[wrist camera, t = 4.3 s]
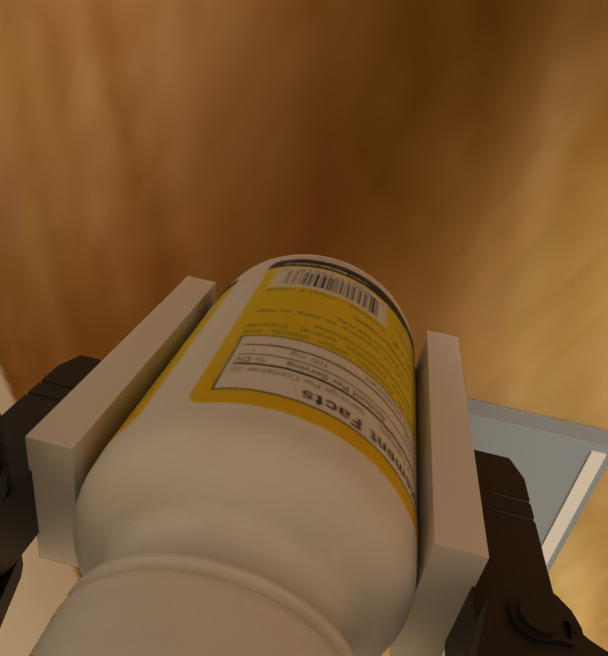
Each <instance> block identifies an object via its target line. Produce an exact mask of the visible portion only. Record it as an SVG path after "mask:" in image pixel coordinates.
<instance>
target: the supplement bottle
mask: <svg viewBox="0 0 608 656" xmlns="http://www.w3.org/2000/svg"><path fill="white" fill-rule="evenodd" d="M73 542H74V550H75V554H76V559H77V563H78V565H79V568H80V571H81V574H82V578H81V579H80V580H79V581H78V582H77V583H76V584H75V585H74V587H73V588H72V589H71V591H70V592H69V594H68V596H67V598H66V599H65V601H64V602H63V603H62V604H61V605H60V607H59V608H58V609H57V611H56V612H55V614H54V615H53V617H52V618H51V620H50V622H49V624H48V626H47V627H46V629H45V631H44V632H43V634H42V636H41V637H40V639H39V640H38V642H37V644H36V645H35V647H34V649H33V650H32V652H31V654H30V655H29V656H381V655H382V654H383V653H384V652H385V651H386V650H387V649H388V648H389V647H390V645H391V644H392V643H393V642H394V641H395V640H396V638H397V636H398V635H399V633H400V632H401V630H402V628H403V626H404V624H405V622H406V620H407V618H408V615H409V612H410V609H411V606H412V603H413V599H414V595H415V590H416V582H417V563H418V506H417V443H416V381H415V359H414V347H413V340H412V335H411V331H410V328H409V325H408V322H407V320H406V318H405V316H404V314H403V312H402V310H401V308H400V307H399V305H398V303H397V302H396V300H395V299H394V297H393V296H392V295H391V294H390V293H389V292H388V290H387V289H386V288H385V287H384V286H383V285H382V284H381V283H379V282H378V281H377V280H376V279H374V278H373V277H372V276H370V275H369V274H367V273H366V272H364V271H363V270H361V269H359V268H358V267H356V266H353V265H351V264H349V263H347V262H344V261H341V260H338V259H334V258H330V257H326V256H321V255H313V254H295V255H287V256H282V257H277V258H273V259H270V260H267V261H265V262H262V263H260V264H258V265H256V266H254V267H252V268H250V269H249V270H247V271H246V272H244V273H243V274H242V275H241V276H239V277H238V278H237V279H236V280H235V281H233V282H232V284H231V285H230V286H229V287H228V288H227V289H226V290H225V291H224V292H223V294H222V295H221V296H220V297H219V298H218V300H217V301H216V302H215V303H214V305H213V306H212V307H211V308H210V310H209V311H208V312H207V314H206V315H205V316H204V318H203V319H202V320H201V322H200V323H199V324H198V326H197V327H196V328H195V330H194V331H193V333H192V334H191V335H190V336H189V338H188V339H187V340H186V342H185V343H184V344H183V345H182V347H181V348H180V349H179V351H178V352H177V353H176V355H175V356H174V357H173V359H172V360H171V361H170V363H169V364H168V365H167V367H166V368H165V369H164V371H163V372H162V373H161V375H160V376H159V377H158V379H157V380H156V381H155V383H154V384H153V385H152V387H151V388H150V389H149V390H148V392H147V393H146V394H145V396H144V397H143V398H142V400H141V401H140V402H139V404H138V405H137V406H136V408H135V409H134V410H133V411H132V413H131V414H130V415H129V417H128V418H127V419H126V421H125V422H124V423H123V425H122V426H121V427H120V429H119V430H118V431H117V432H116V434H115V435H114V437H113V438H112V439H111V441H110V442H109V443H108V445H107V446H106V447H105V449H104V450H103V452H102V453H101V455H100V456H99V458H98V460H97V461H96V462H95V464H94V465H93V467H92V468H91V470H90V472H89V474H88V475H87V477H86V479H85V481H84V483H83V485H82V487H81V490H80V493H79V496H78V498H77V502H76V507H75V511H74V518H73Z"/></svg>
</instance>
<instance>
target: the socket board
mask: <svg viewBox="0 0 608 656" xmlns="http://www.w3.org/2000/svg"><path fill="white" fill-rule="evenodd" d="M467 405H468V413H469V420H470V427H471V434H472V441H473V448H474V450H478V451H482V452H486V453H490V454H495V455H499V456H503V457H507V458H510V460H511V461H512V462H513V464H514V465H515V467H516V468H517V469H518V471H519V472H520V473H521V475H522V476H523V478H524V479H525V483H526V487H527V491H528V495H529V499H530V501H529V504H531V507H532V511H533V515H534V522H535V523H536V527H537V531H538V535H539V539H540V543H541V547H542V551H543V555H544V559H545V563H546V567H547V571H548V572H549V570H550V569H551V567H552V565H553V563H554V561H555V559H556V558H557V556H558V554H559V552H560V550H561V549H562V547H563V545H564V543H565V541H566V539H567V538H568V536H569V534H570V532H571V530H572V529H573V527H574V525H575V523H576V521H577V519H578V518H579V516H580V514H581V512H582V510H583V509H584V507H585V505H586V503H587V501H588V499H589V498H590V496H591V494H592V492H593V490H594V489H595V487H596V485H597V483H598V481H599V479H600V478H601V476H602V474H603V472H604V470H605V469H606V467H607V465H608V431H607V430H602V429H598V428H594V427H589V426H585V425H581V424H576V423H572V422H568V421H563V420H559V419H555V418H550V417H546V416H542V415H537V414H533V413H529V412H524V411H520V410H516V409H511V408H507V407H503V406H498V405H494V404H490V403H485V402H481V401H477V400H473V399H468V398H467ZM442 656H445V650H444V652H443V654H442Z"/></svg>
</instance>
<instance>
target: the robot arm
mask: <svg viewBox="0 0 608 656" xmlns="http://www.w3.org/2000/svg"><path fill="white" fill-rule="evenodd" d="M215 288H216V282H213V281H208V280H204V279H200V278H195V277H191V276H187V277H186V278H185V279H184V280H183V281H182V282H181V283H180V284H179V285H178V286H177V287H176V288H175V289H174V290H173V291H172V292H171V293H170V294H169V295H168V296H167V297H166V298H165V299H164V300H163V301H162V302H161V303H160V304H159V305H158V306H157V307H156V308H155V309H154V310H153V311H152V312H151V313H150V314H149V315H148V316H147V317H146V318H145V319H144V320H143V321H142V322H141V323H140V324H139V325H138V326H137V327H136V328H135V329H133V330H132V331H131V332H130V333H129V334H128V335H127V336H126V337H125V338H124V339H123V340H122V341H121V342H120V343H119V344H118V345H117V346H116V347H115V348H114V349H113V350H112V351H111V352H110V353H109V354H108V355H107V356H106V357H105V358H104V359H103V360H99V359H94V358H90V357H86V356H82V355H81V356H79V357H76V358H74V359H72V360H70V361H67V362H65V363H63V364H61V365H58V366H57V367H56V368H55V369H54V370H53V371H52V372H50V373H49V374H48V375H47V376H46V377H45V378H44V379H42V382H41V383H38V384H37V385H36V386H35V387H33V388H32V389H31V390H30V391H29V393H28V395H24V396H23V397H22V398H21V399H20V400H19V401H18V402H16V403H15V404H14V405H13V406H12V407H11V408H10V409H8V410H7V411H6V412H5V413H4V414H3V415H2V416H1V414H0V627H1V624H2V622H3V619H4V617H5V615H6V612H7V610H8V607H9V605H10V602H11V600H12V598H13V595H14V593H15V590H16V588H17V585H18V583H19V580H20V578H21V574H22V568H23V561H22V554H23V552H24V551H25V550H26V548H27V547H28V546H29V545H30V543H31V542H32V541H33V539H34V538H35V537H36V536H37V539H38V546H39V555H40V557H43V558H46V559H50V560H53V561H57V562H60V563H64V564H68V565H71V566H75V567H78V568H79V565H78V563H77V559H76V554H75V550H74V542H73V518H74V511H75V507H76V502H77V498H78V496H79V493H80V490H81V487H82V485H83V483H84V481H85V479H86V477H87V475H88V474H89V472H90V470H91V468H92V467H93V465H94V464H95V462H96V461H97V460H98V458H99V456H100V455H101V453H102V452H103V450H104V449H105V447H106V446H107V445H108V443H109V442H110V441H111V439H112V438H113V437H114V435H115V434H116V432H117V431H118V430H119V429H120V427H121V426H122V425H123V423H124V422H125V421H126V419H127V418H128V417H129V415H130V414H131V413H132V411H133V410H134V409H135V408H136V406H137V405H138V404H139V402H140V401H141V400H142V398H143V397H144V396H145V394H146V393H147V392H148V390H149V389H150V388H151V387H152V385H153V384H154V383H155V381H156V380H157V379H158V377H159V376H160V375H161V373H162V372H163V371H164V369H165V368H166V367H167V365H168V364H169V363H170V361H171V360H172V359H173V357H174V356H175V355H176V353H177V352H178V351H179V349H180V348H181V347H182V345H183V344H184V343H185V342H186V340H187V339H188V338H189V336H190V335H191V334H192V333H193V331H194V330H195V328H196V327H197V326H198V324H199V323H200V322H201V320H202V319H203V318H204V316H205V315H206V314H207V312H208V311H209V310H210V308H211V307H212V306H213V305H214V300H215ZM415 381H416V443H417V506H418V563H417V582H416V590H415V595H414V599H413V603H412V606H411V609H410V612H409V615H408V618H407V620H406V622H405V624H404V626H403V628H402V630H401V632H400V633H399V635H398V636H397V638H396V640H395V641H394V642H393V643H392V644H391V645H390V655H391V656H442V654H443V652H444V650H445V656H608V652H607V651H606V650H604V649H602V648H601V647H599V646H598V645H596V644H595V643H593V642H592V641H590V640H589V639H588V638H587V637H586V636H584V635H583V632H582V628H581V626H580V625H579V623H578V621H577V619H576V618H575V616H574V614H573V613H572V611H571V610H570V609H569V608H568V607H567V606H566V605H565V604H564V603H563V602H562V601H561V600H560V599H559V598H558V597H557V596H556V595H555V594H554V593H553V590H552V587H551V583H550V579H549V575H548V571H547V567H546V563H545V559H544V555H543V551H542V547H541V543H540V539H539V535H538V531H537V527H536V523H535V522H534V515H533V511H532V507H531V504H529V501H530V499H529V495H528V491H527V487H526V483H525V479H524V478H523V476H522V475H521V473H520V472H519V471H518V469H517V468H516V467H515V465H514V464H513V462H512V461H511V460H510V458H507V457H503V456H499V455H495V454H490V453H486V452H482V451H478V450H474V448H473V441H472V434H471V427H470V420H469V413H468V405H467V398H466V391H465V384H464V377H463V370H462V363H461V356H460V349H459V342H458V337H456V336H452V335H447V334H443V333H438V332H434V331H430V330H427V332H426V335H425V339H424V342H423V345H422V348H421V351H420V355H419V358H418V361H417V364H416V368H415Z"/></svg>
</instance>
